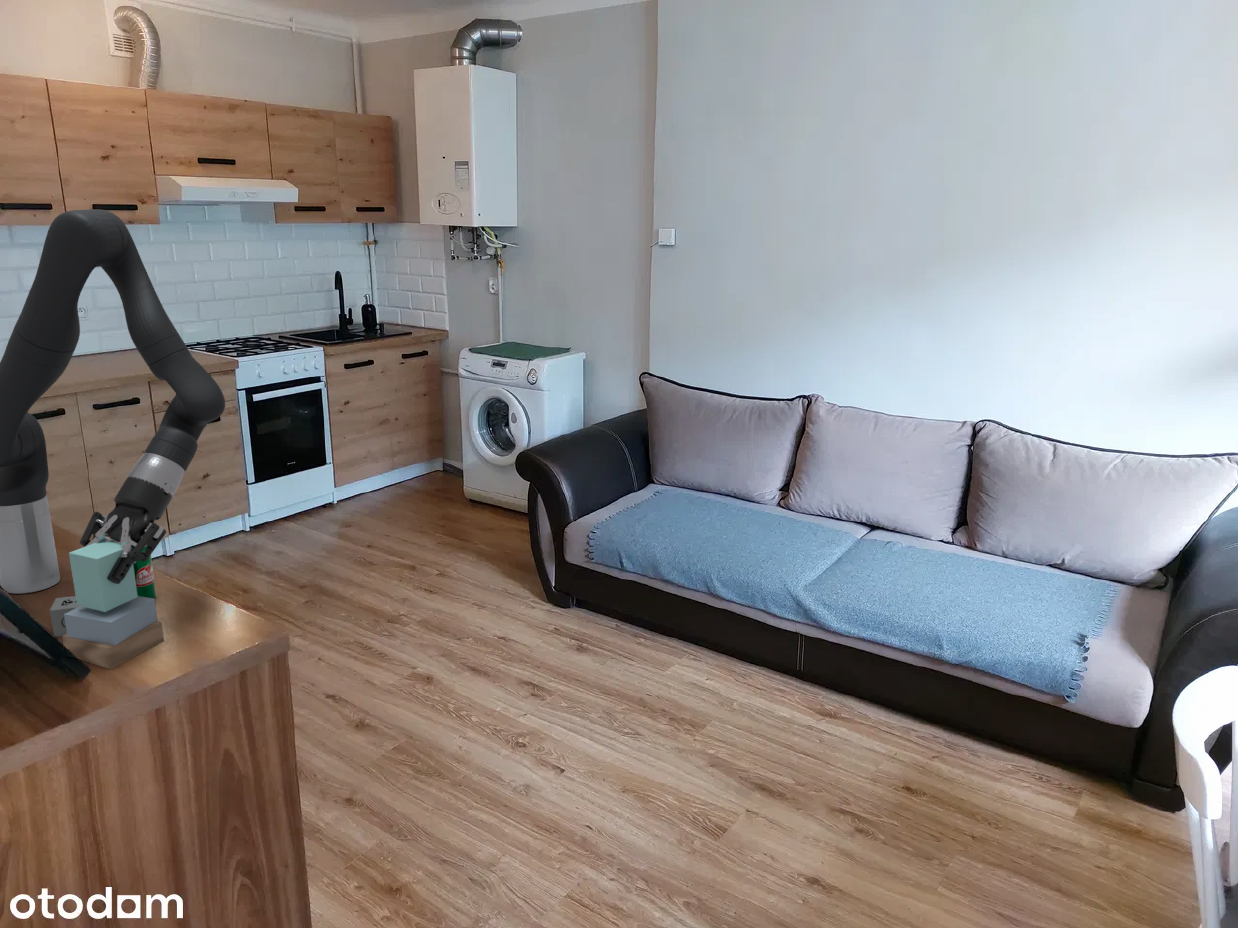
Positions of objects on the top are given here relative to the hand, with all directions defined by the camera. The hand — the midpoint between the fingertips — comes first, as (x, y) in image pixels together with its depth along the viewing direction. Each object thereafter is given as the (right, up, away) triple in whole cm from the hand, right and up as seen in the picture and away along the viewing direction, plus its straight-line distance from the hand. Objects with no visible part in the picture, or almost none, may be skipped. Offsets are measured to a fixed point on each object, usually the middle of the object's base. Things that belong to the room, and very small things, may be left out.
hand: (97, 577), depth 136 cm
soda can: (-5, -7, +22) cm, 24 cm away
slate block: (0, -9, +4) cm, 10 cm away
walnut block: (0, -13, +5) cm, 14 cm away
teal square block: (0, -4, +2) cm, 5 cm away
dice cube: (-11, -10, +11) cm, 19 cm away
